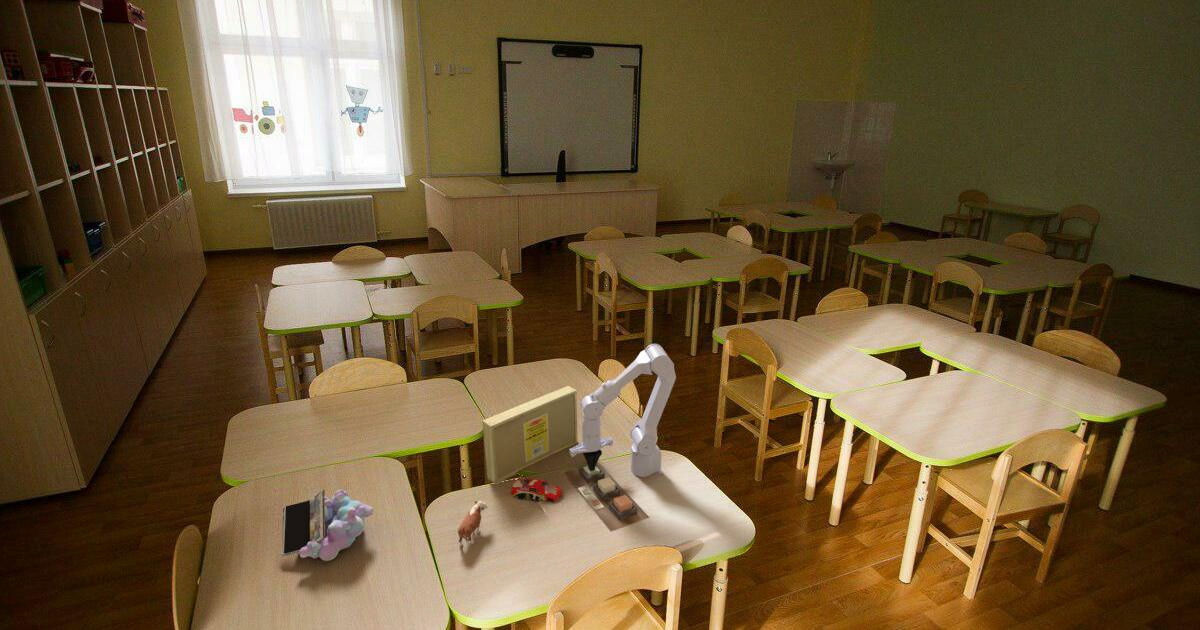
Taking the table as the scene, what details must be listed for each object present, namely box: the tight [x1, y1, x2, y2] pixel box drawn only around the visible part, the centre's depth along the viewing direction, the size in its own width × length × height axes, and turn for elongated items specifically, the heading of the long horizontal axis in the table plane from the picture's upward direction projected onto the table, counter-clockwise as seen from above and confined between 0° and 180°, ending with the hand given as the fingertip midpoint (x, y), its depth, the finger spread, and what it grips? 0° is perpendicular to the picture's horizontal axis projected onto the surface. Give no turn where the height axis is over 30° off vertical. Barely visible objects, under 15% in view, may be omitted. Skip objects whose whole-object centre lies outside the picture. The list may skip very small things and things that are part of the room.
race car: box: [510, 477, 564, 503], centre depth 196 cm, size 16×7×5 cm, turn 75°
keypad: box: [562, 461, 650, 532], centre depth 196 cm, size 13×32×3 cm, turn 28°
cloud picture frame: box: [280, 487, 374, 562], centre depth 174 cm, size 20×22×18 cm
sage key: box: [583, 466, 600, 477], centre depth 204 cm, size 4×4×2 cm
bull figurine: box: [457, 500, 489, 547], centre depth 179 cm, size 4×13×8 cm, turn 161°
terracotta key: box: [614, 495, 632, 513], centre depth 188 cm, size 4×4×2 cm
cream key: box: [598, 477, 615, 494], centre depth 196 cm, size 4×4×2 cm
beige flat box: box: [482, 385, 579, 485], centre depth 210 cm, size 35×5×22 cm, turn 132°
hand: (591, 469), depth 204 cm, fingers closed, pressing on sage key
